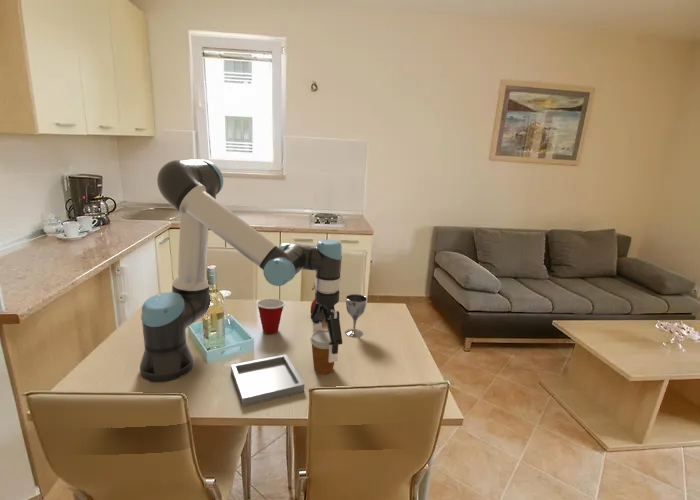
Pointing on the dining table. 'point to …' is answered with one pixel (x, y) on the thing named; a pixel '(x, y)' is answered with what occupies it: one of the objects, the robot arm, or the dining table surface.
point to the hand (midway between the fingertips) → (324, 350)
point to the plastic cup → (270, 314)
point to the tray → (266, 379)
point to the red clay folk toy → (313, 302)
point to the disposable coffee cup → (321, 352)
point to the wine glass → (355, 312)
